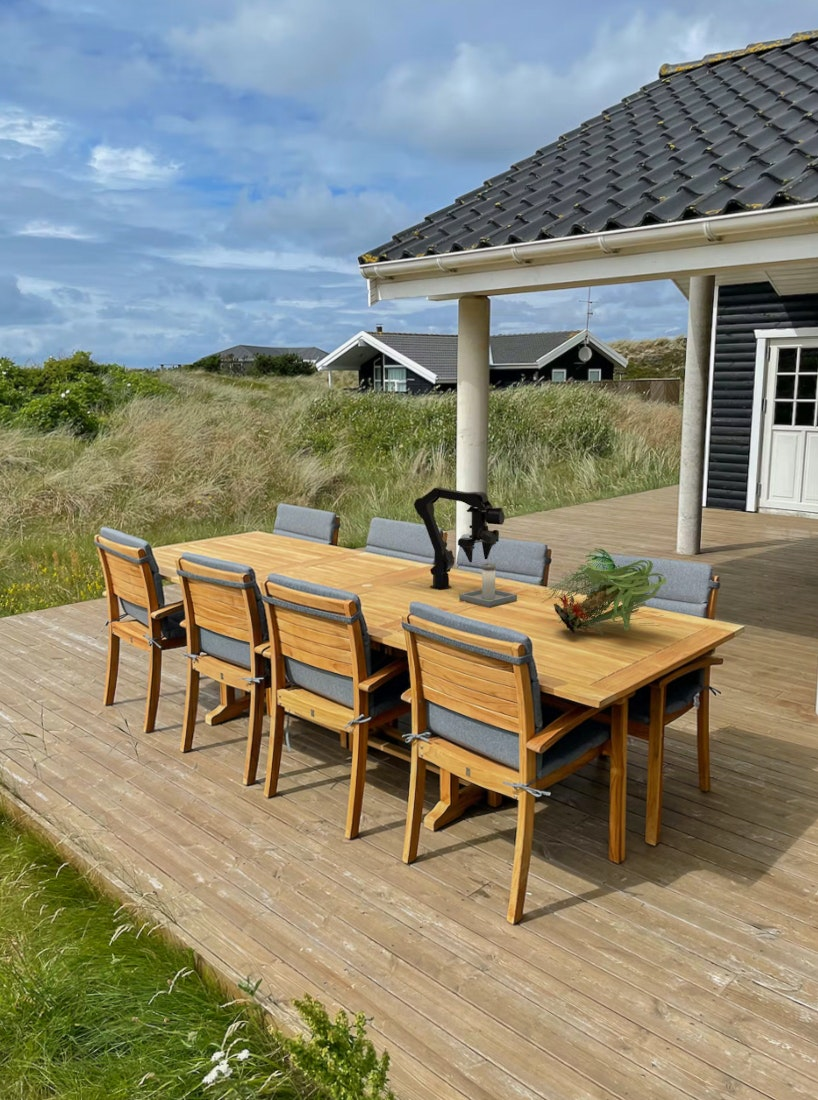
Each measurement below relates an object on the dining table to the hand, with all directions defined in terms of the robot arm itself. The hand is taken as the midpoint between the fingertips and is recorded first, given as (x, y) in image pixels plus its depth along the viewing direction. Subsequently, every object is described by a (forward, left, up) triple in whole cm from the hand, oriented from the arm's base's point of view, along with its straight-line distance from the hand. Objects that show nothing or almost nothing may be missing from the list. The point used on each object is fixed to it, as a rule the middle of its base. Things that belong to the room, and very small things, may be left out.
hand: (478, 560), depth 354 cm
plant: (+66, -11, -13) cm, 68 cm away
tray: (+13, -8, -13) cm, 20 cm away
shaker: (+13, -8, -12) cm, 19 cm away
